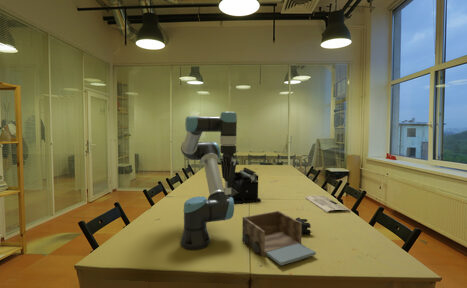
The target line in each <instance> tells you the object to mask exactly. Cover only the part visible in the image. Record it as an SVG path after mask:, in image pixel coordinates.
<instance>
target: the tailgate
mask: <svg viewBox="0 0 467 288" xmlns="http://www.w3.org/2000/svg"><path fill="white" fill-rule="evenodd" d="M266 255H267V256H266V257H269V258H270V259H271V260H273V262H276V263H277V264H278V265H279V266H283V265H286V264H292V263H295V262H298V261H301V260H304V259H305V258H310V257H311V256H315V255H317V252H316V251H315V250H313V249H311V248H309V247H307V246H306V245H303V244H302V243H301V244H300V243H298V244H294V245H290V246H287V247H283V248H280V249H276V250H272V251H269V252H266Z"/></svg>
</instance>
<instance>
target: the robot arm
mask: <svg viewBox="0 0 467 288" xmlns="http://www.w3.org/2000/svg"><path fill="white" fill-rule="evenodd" d="M237 123H238V117H237V113H236V112H235V111H222V112H221V113H220V116H198V115H197V116H195V115H192V116H190V115H189V116H187V117H186V118H185V131H186V135H185V139H184V140H183V142H181V146H180V151H181V153H182V155H183V156H184V157H185V158H186V159H189V160H193V161H200V163H201V164H202V165H203V167H204V173H205V178H206V183H207V188H208V192H209V195H208V197H206V196H194V197H191V198H188V199H187V200H185V202H184V203H183V231H182V235H181V237H180V246H181V248H183V249H185V250H189V251H195V250H196V251H197V250H201V249H202V250H203V249H204V248H206V247H208V246H209V245H210V243H211V238H210V237H211V236H210V234H209V230H208V228H207V224H208V223H212V222H213V223H214V222H221V221H227V220H231V219H232V218H233V217H234V213H235V205H234V200H233V198H232V197H229V196H228V194H231V181H232V180H234V177H235V172H236V169H237V165H238V161H237V160H235V155H236V154H237V129H238V127H237ZM207 132H209V133H210V132H211V133H212V132H213V133H220V143H219V144H220V146H219V144H218V142H215V141H200V139H201V136H202V134H203V133H207ZM221 155H222V157H221ZM218 161H220V167H221V171H220V168H219V164H218ZM221 176H222V177H221ZM222 179H223V180H224V183H223V180H222ZM223 184H224V185H223ZM224 188H225V191H224Z"/></svg>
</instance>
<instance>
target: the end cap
mask: <svg viewBox="0 0 467 288" xmlns="http://www.w3.org/2000/svg"><path fill="white" fill-rule="evenodd" d="M294 219H295V220H297V221H299V222H301V223H302V232H301V236H311V228H312V227H311V223H310V222H308V219H306V218H300V217H296V218H294Z"/></svg>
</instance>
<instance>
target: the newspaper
mask: <svg viewBox="0 0 467 288" xmlns="http://www.w3.org/2000/svg"><path fill="white" fill-rule="evenodd" d="M304 197H305V199H306V200H308V201H309V202H311V203H312V204H313V205H315V206H316V207H318V208H319V209H321V210H323V211H324V212H326V213H327V214H329V213H330V211H338V210H339V211H341V210H342V211H341V212H343V213H350V212H351V209H349V208H347V207H345V206H343V205H341V204H340V203H338V202H336V201H334V200H332V199H330V198H328V197H327V196H325V195H307V196H304ZM344 211H345V212H344Z"/></svg>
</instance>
